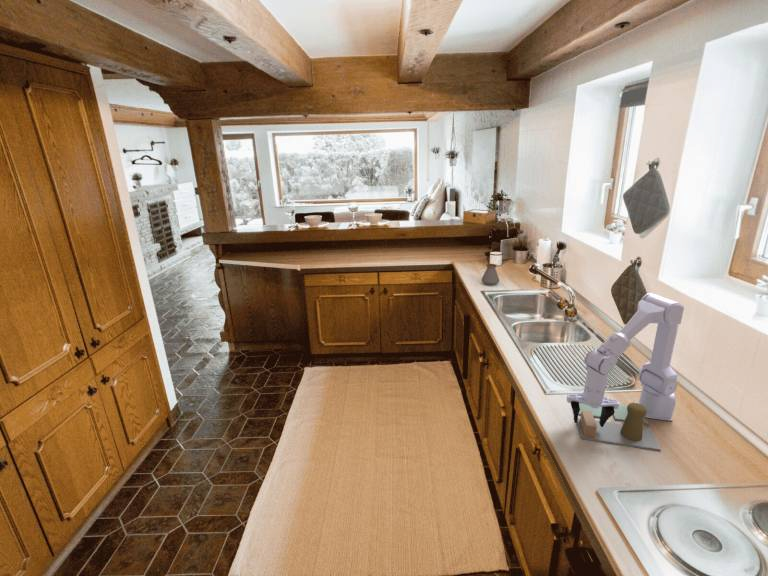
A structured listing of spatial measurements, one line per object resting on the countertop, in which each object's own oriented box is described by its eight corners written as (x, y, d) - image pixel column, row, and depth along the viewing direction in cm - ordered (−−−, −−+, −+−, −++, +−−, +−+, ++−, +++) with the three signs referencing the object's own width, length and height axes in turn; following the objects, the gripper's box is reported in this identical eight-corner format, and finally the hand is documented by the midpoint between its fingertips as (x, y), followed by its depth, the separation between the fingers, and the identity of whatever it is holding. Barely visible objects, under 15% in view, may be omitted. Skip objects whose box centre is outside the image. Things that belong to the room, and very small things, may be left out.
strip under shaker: (649, 429, 130) (652, 417, 129) (660, 451, 121) (664, 438, 120) (576, 419, 136) (578, 407, 134) (581, 439, 127) (583, 427, 125)
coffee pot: (500, 286, 260) (502, 264, 255) (482, 286, 260) (484, 264, 255) (493, 276, 280) (495, 255, 275) (477, 276, 280) (478, 255, 275)
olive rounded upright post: (634, 427, 130) (641, 399, 127) (646, 440, 125) (653, 411, 121) (616, 428, 130) (622, 399, 127) (627, 441, 125) (634, 412, 121)
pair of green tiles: (638, 407, 141) (639, 406, 141) (647, 424, 133) (647, 422, 133) (570, 399, 146) (570, 397, 146) (574, 414, 138) (575, 413, 138)
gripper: (571, 391, 124) (565, 427, 128) (624, 397, 120) (616, 434, 124) (568, 378, 130) (562, 413, 135) (618, 384, 126) (610, 420, 131)
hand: (588, 423), depth 130 cm, fingers open, 7 cm apart
